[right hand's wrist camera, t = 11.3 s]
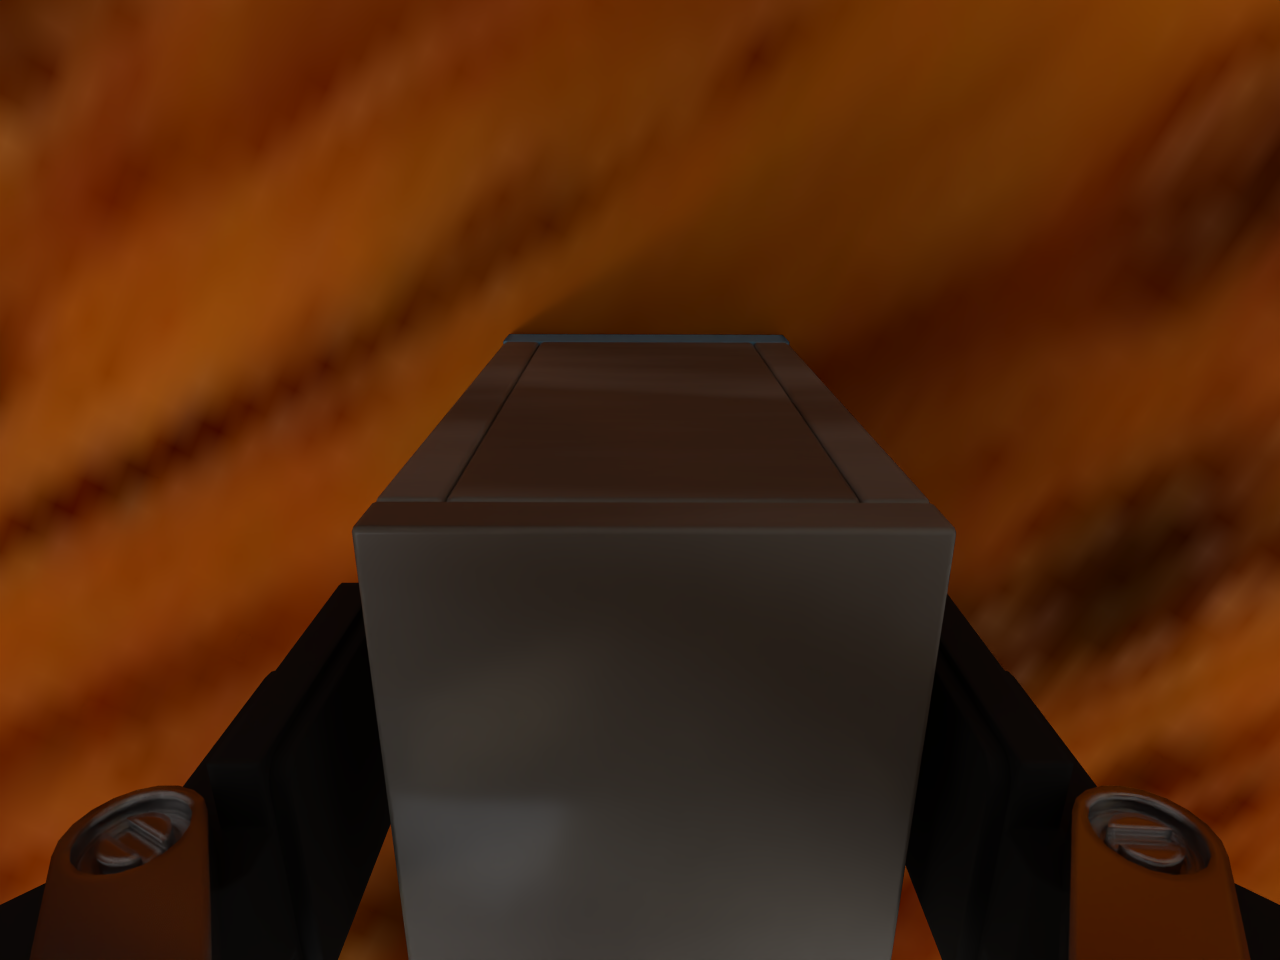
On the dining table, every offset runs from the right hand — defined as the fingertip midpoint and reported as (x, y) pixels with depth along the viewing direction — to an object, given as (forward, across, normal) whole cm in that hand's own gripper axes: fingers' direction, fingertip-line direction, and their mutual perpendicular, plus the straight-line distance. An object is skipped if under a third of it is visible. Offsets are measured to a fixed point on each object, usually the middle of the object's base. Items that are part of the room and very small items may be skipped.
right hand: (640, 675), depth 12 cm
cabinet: (+7, 0, -4) cm, 8 cm away
